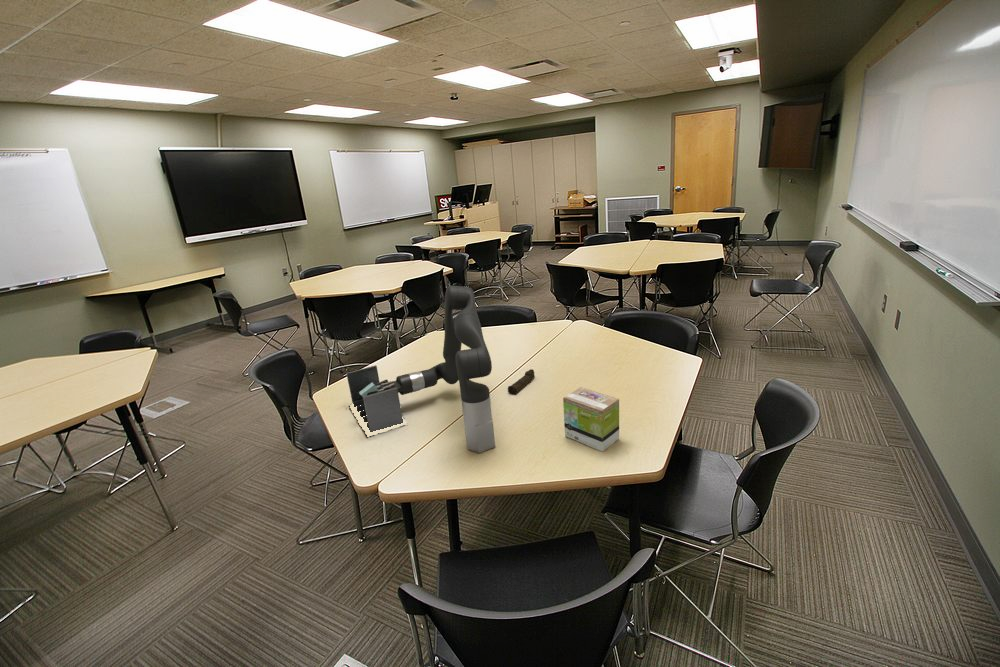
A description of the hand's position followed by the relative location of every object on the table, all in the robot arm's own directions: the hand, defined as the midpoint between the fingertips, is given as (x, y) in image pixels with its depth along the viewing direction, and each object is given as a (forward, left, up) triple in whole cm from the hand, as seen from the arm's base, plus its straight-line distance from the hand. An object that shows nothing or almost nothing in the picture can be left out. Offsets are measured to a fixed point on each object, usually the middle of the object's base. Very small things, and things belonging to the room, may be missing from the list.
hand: (366, 394), depth 171 cm
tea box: (-60, -57, -11) cm, 83 cm away
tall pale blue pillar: (0, -6, -9) cm, 10 cm away
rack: (+2, -3, -11) cm, 12 cm away
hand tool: (-11, -61, -11) cm, 63 cm away
